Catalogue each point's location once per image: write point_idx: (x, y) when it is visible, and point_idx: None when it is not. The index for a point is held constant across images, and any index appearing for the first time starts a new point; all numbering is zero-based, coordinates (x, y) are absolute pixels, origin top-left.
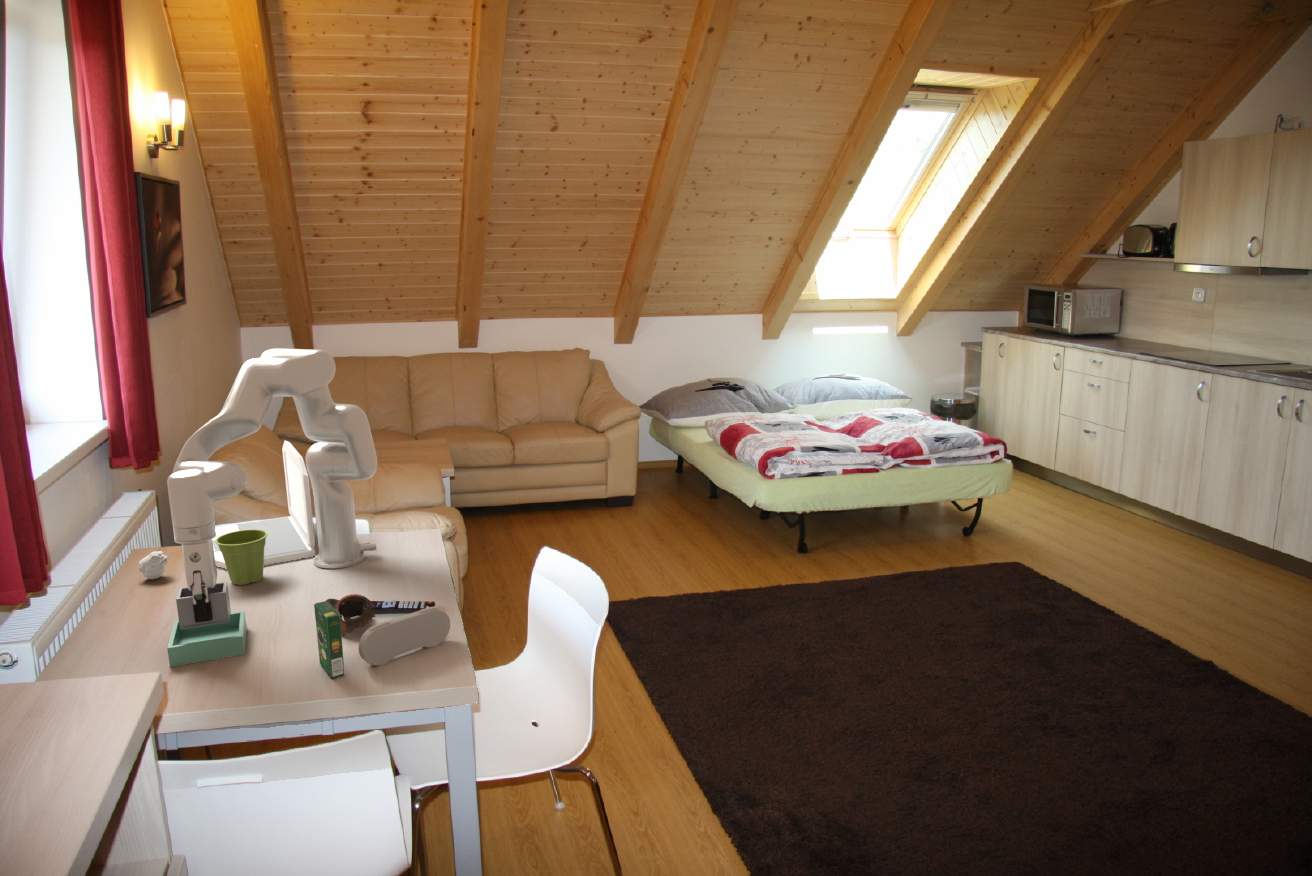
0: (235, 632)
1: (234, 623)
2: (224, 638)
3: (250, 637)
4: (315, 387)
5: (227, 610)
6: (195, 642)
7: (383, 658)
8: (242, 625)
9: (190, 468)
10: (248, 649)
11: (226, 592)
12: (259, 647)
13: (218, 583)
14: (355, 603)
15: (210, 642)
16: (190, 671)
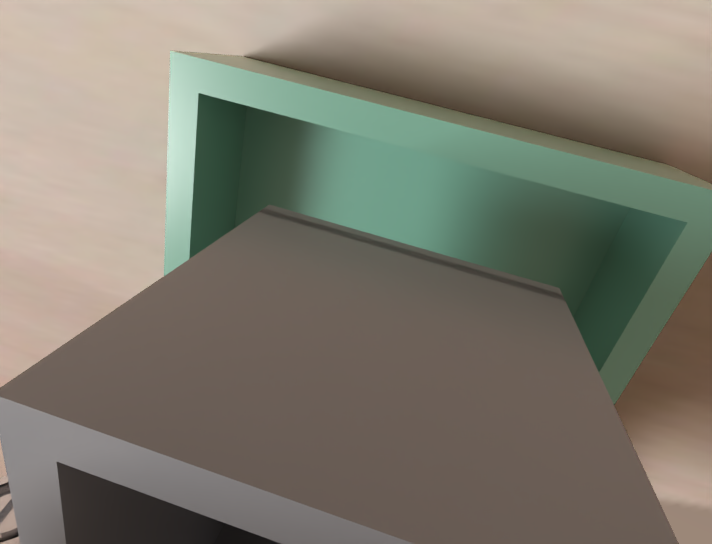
0: (336, 152)
1: (232, 137)
2: (650, 321)
3: (407, 66)
4: None
5: (590, 362)
6: None
7: None
8: (487, 141)
9: None
10: (599, 123)
11: (482, 492)
12: (630, 45)
13: (54, 524)
14: None
15: (614, 396)
16: (632, 433)
